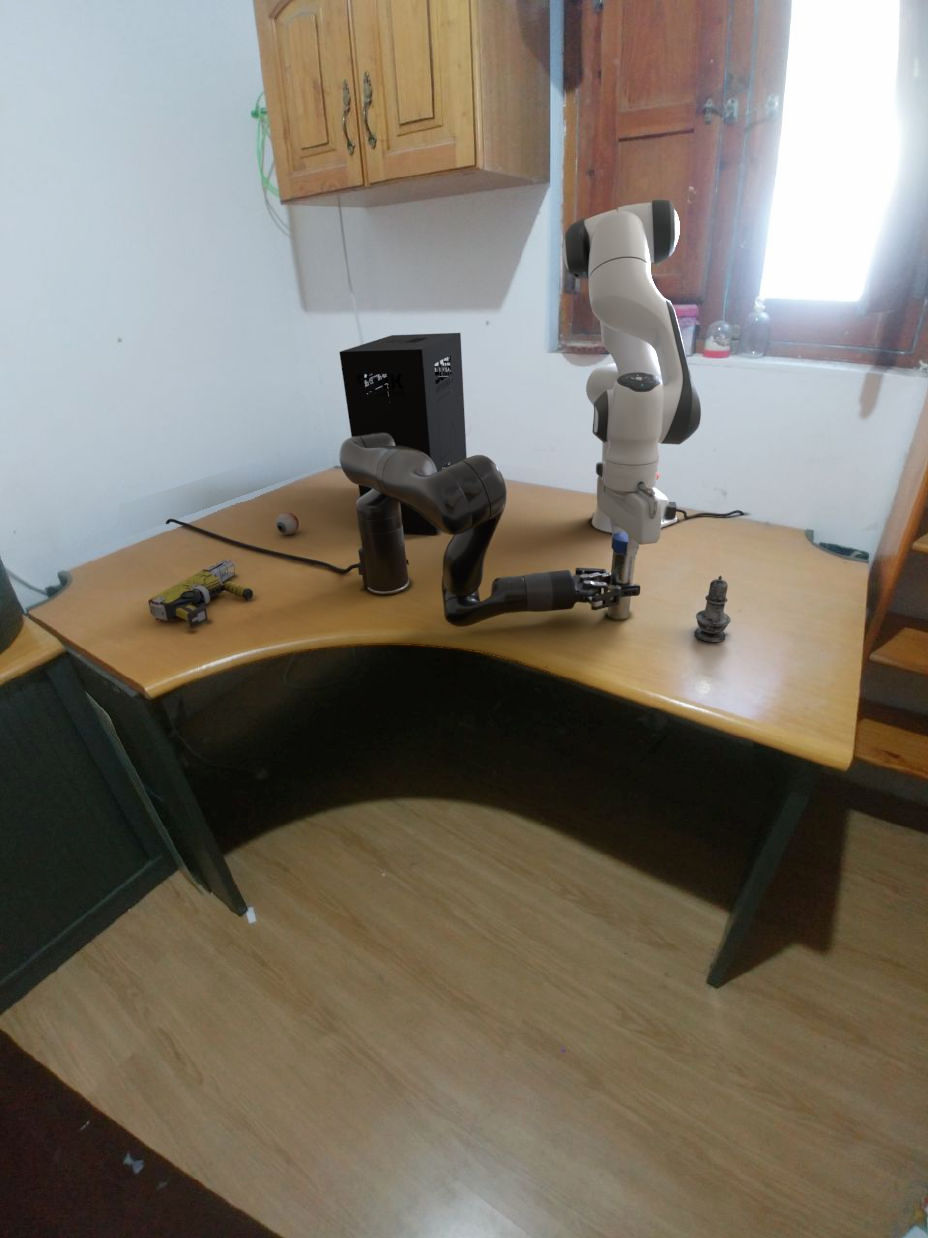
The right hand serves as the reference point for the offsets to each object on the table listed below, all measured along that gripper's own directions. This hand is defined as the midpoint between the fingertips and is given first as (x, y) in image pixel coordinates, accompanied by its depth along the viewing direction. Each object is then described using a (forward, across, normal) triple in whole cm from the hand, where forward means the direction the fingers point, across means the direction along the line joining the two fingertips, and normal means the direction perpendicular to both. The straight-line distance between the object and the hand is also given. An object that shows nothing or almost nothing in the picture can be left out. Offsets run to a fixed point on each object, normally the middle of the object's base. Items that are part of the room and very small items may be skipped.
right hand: (623, 548), depth 112 cm
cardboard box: (+14, +73, +31) cm, 81 cm away
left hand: (+8, 0, -3) cm, 8 cm away
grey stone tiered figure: (+14, -12, -13) cm, 22 cm away
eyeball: (+14, +64, +68) cm, 95 cm away
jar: (+14, 0, 0) cm, 14 cm away
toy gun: (+14, +28, +81) cm, 87 cm away
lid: (-2, 0, 0) cm, 2 cm away
